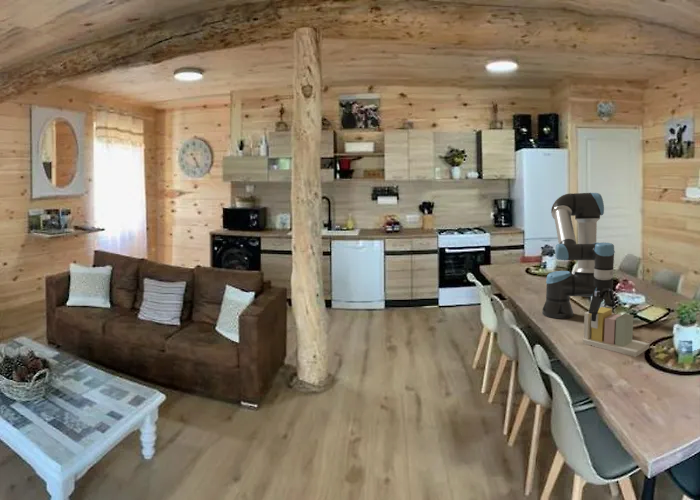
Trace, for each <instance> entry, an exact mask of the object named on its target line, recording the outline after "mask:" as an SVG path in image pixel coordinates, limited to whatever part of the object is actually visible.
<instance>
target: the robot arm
mask: <svg viewBox="0 0 700 500" xmlns="http://www.w3.org/2000/svg"><path fill="white" fill-rule="evenodd" d="M550 210H551V212H550V213H551V218H552V219H553V220H554V222H555V230H556V234H557V235H556V236H557V241H558V243H557V244H556V245H555V248H554V249H555V259H556V260H559V261H577V268H576V269H575V270H574V273H573V274H572V273H571V271H568V270H556V271H552V272H549V273H548V274H547V276H546V281H545V283H546V289H545V290H546V291H545V292H546V293H545V302H544V305H543V307H542V311H541V312H542V315H543V316H544V317H548V318H550V319H551V318H552V319H570V318H572V317H573V316H574V310H573V307H572V303H571V297H586V298H587V297H588V298H591V301H590V304H589V309H588V311H589V313H591V327H592V328H596V329H597V328H598V314H597V313H598V310H599V308H601V304H602V302H605V304H606V305H605V306H604V308H610V309H612V310H613V308H614V307H615V306H616V305H615V303H616V301H615V296H614V292H613V286H614V285H613V284H614V279H613V278H614V274H615V272H614V265H615V253H616V251H615V245H614V243H610V242H597V227H598V226H597V223H598V222H599V220H600V219H601V216H603V215H604V214H605V205H604V201H603V197H602V195H601V194H600V193H599V192H581V193H579V192H578V193H573V192H572V193H565V194H562V195H561V196H559V197H558V198H556V200H554V203H553V204H552V206H551V209H550ZM572 216H573V217H574V220H575V221H576V222H577V223H578V224H577V226H578V227H577V230H578V233H577V238H576V235H575V231H574V225H573V221H572ZM576 239H578V240H576Z"/></svg>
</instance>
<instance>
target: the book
mask: <svg viewBox="0 0 700 500" xmlns="http://www.w3.org/2000/svg"><path fill="white" fill-rule="evenodd" d="M612 313H613V308H612V309H610V308H605V306H604V307H603V306H600V308H599V310H598V313H597V314H598V328H597V329H596V328H592V334H591V339H592V340H597V341H601V342H602V341H604V329H605V318H607V317H609V316H611V315H612Z"/></svg>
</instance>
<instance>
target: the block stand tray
mask: <svg viewBox="0 0 700 500" xmlns="http://www.w3.org/2000/svg"><path fill="white" fill-rule="evenodd" d="M583 317H584V319H583V321H584V322H583V325H584V326H583V338H582V344H583V343H585V344H584V345H586V344H588V345H587V346H590V345H592V346H591V347H594V346H595V347H596V348H598V349H602V350H607V351H611V352H614V353H619V354H623V355H626V356H629V357H630V356H631V357H634V358H636V357H639V355H641V354H642V353H644V352H645V351H647V350H648V349H650V342H645V341H641V340H640V341H639V340H636V339H633V335H634V333H633V332H634V331H633V330H634V314H629V313H623V314H617V313H614V314H613V315H611V316H609V317H607V318H605V329H604V341H602V342H601V341H597V340H592V339H591V334H592V327H591V313H589V310H588V311H586V312H584V316H583ZM595 347H594V348H595Z"/></svg>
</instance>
